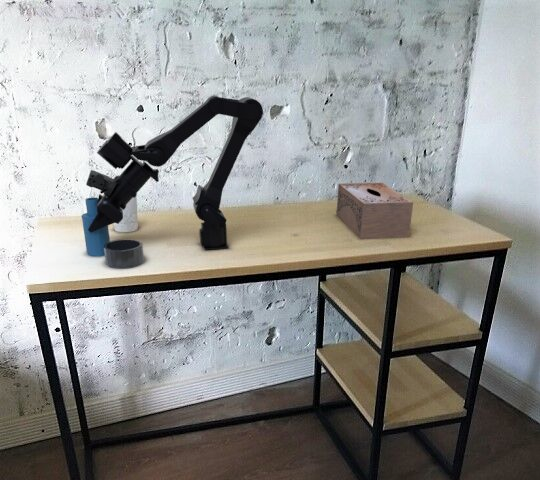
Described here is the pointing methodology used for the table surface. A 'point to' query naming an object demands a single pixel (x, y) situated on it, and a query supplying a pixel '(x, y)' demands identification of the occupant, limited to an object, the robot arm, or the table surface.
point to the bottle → (98, 237)
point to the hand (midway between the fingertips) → (90, 227)
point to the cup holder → (123, 253)
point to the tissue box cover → (374, 210)
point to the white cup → (128, 218)
